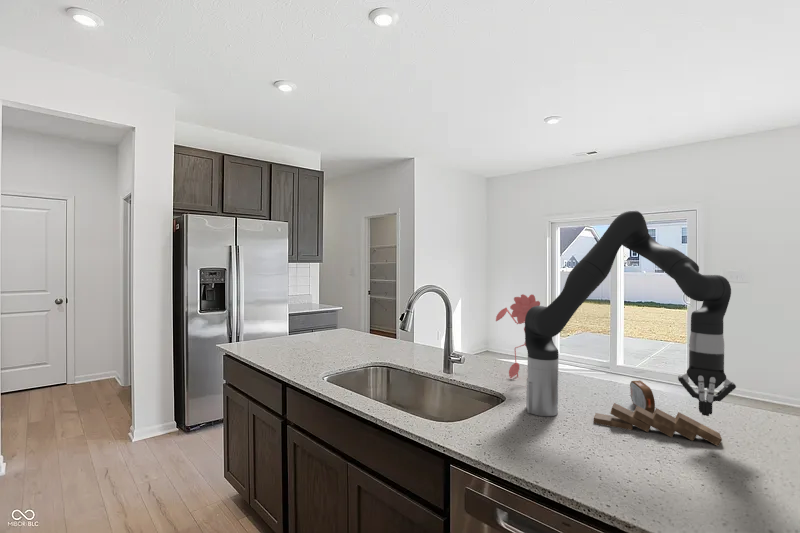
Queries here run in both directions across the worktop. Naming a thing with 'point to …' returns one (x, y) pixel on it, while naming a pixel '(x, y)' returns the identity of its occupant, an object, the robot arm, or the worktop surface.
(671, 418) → the tile
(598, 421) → the tile
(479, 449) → the worktop surface
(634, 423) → the tile
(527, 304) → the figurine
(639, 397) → the tin
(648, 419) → the tile
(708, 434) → the end tile
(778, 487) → the worktop surface
